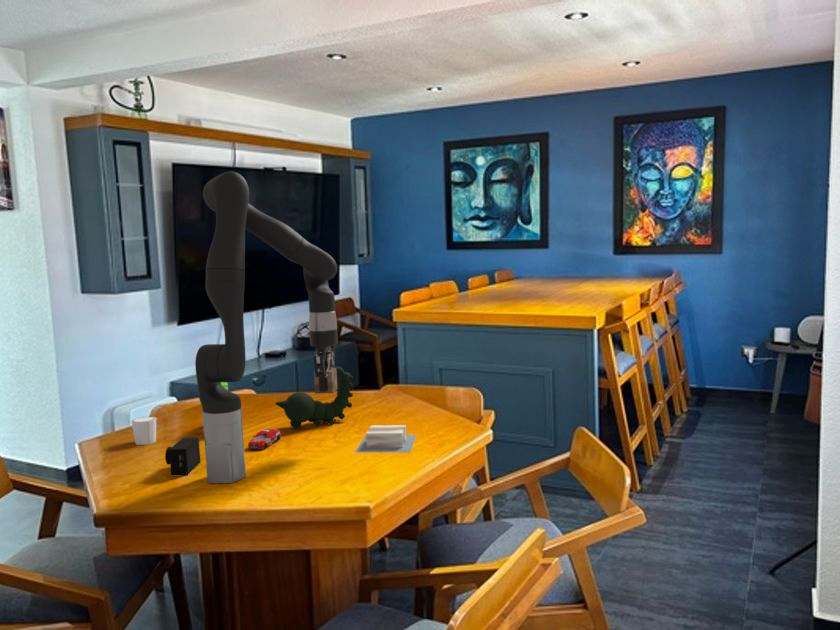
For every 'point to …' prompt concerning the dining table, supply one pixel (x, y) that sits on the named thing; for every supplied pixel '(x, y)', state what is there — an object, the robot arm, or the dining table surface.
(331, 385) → the walnut block
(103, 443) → the dining table surface
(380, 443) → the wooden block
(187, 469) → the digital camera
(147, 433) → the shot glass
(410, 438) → the mat
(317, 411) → the toy figurine
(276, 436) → the race car
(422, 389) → the dining table surface
